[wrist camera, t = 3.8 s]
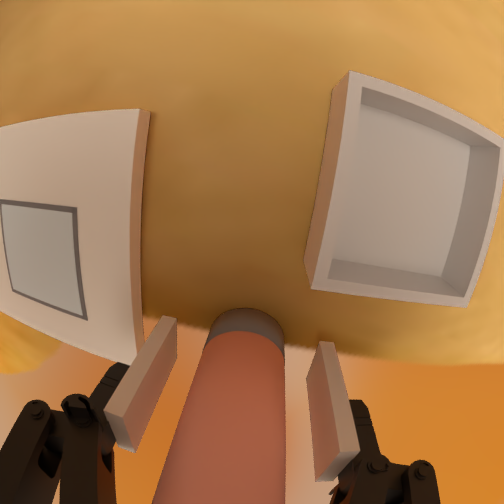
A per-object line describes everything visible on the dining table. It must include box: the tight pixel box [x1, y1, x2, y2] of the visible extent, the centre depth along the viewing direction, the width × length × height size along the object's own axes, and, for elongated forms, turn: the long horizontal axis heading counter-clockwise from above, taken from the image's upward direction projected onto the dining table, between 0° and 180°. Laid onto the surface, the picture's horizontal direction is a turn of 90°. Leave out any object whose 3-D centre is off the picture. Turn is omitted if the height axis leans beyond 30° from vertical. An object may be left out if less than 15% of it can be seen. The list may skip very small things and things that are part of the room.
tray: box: [303, 70, 504, 308], centre depth 10 cm, size 8×8×3 cm
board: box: [0, 109, 151, 365], centre depth 12 cm, size 14×20×3 cm
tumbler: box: [152, 308, 286, 504], centre depth 9 cm, size 4×4×12 cm
